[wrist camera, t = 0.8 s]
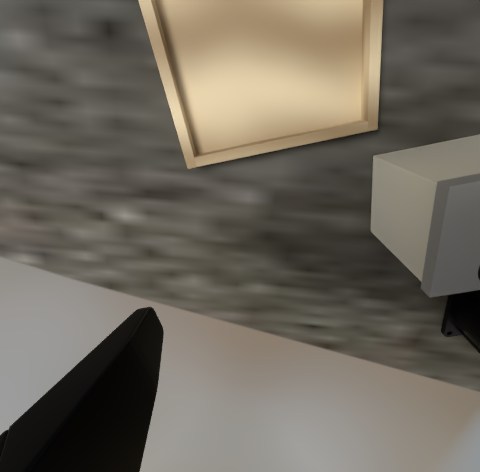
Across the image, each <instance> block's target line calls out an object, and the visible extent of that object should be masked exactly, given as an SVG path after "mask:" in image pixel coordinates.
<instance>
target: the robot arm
mask: <svg viewBox="0 0 480 472" xmlns="http://www.w3.org/2000/svg"><path fill="white" fill-rule="evenodd" d="M478 278H479V280H480V265H479V269H478ZM441 332H442V333H443V334H444V336H446V337H450V336H457V335H463V336H464V337H465V338H466V339H467V340H468V341H469V342H470V343H471V344H472V345H473V347H474V348H475V349H476V350H477V351H478V352H479V353H480V290H476V291H470V292H463V293H457V294H450V295H449V299H448V304H447V308H446V312H445V317H444V321H443V326H442V330H441ZM162 343H163V327H162V325H161V323H160V321H159V319H158V317H157V315H156V312H155V311H154V309H153V308H152V307H147V308H141V309H138V310H136V311H135V312H134V313H133V314H132V315H130V316H129V317H128V318H127V319H126V320H125V321H124V322H123V323H122V324H121V325H120V326H118V328H116V329H115V330H114V331H113V332H112V333H111V334H110V335H109V336H108V337H107V338H106V339H104V340H103V341H102V342H101V343H100V344H99V345H98V346H97V347H96V348H95V349H94V350H92V351H91V352H90V353H89V354H88V355H87V356H86V357H85V358H84V359H83V360H82V361H80V362H79V363H78V364H77V365H76V366H75V367H74V368H73V369H72V370H71V371H70V372H69V373H67V374H66V375H65V376H64V377H63V378H62V379H61V380H60V381H59V382H58V383H57V384H56V385H54V386H53V387H52V388H51V389H50V390H49V391H48V392H47V393H46V394H45V395H44V396H42V397H41V398H40V399H39V400H38V401H37V402H36V403H35V404H34V405H33V406H32V407H31V408H29V409H28V410H27V411H26V412H25V413H24V414H23V415H22V416H21V417H20V418H19V419H18V420H16V421H15V422H14V423H13V424H12V425H11V426H10V428H9V430H6V431H4V432H3V433H2V434H1V435H0V472H139V471H140V467H141V462H142V458H143V453H144V448H145V444H146V439H147V434H148V430H149V425H150V420H151V416H152V411H153V407H154V402H155V398H156V392H157V387H158V380H159V371H160V361H161V352H162Z"/></svg>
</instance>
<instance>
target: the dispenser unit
mask: <svg viewBox="0 0 480 472" xmlns="http://www.w3.org/2000/svg"><path fill="white" fill-rule="evenodd" d="M370 231H371V232H372V233H373V234H374V235H375V236H376V237H377V238H378V239H379V240H380V241H381V242H382V243H383V244H384V245H385V246H386V247H387V248H388V249H389V250H390V251H391V252H392V253H393V254H394V255H395V256H396V257H397V258H398V259H399V260H400V261H401V262H402V263H403V264H404V265H405V266H406V267H407V268H408V269H409V270H410V271H411V272H412V273H413V274H414V275H415V276H416V277H417V278H418V279H419V280H420V281H421V289H422V290H423V291H424V292H425V293H426V294H427V296H428V297H429V298H431V297H438V296H444V295H450V294H457V293H463V292H470V291H476V290H480V280H479V278H478V269H479V265H480V134H479V135H474V136H469V137H464V138H459V139H454V140H449V141H445V142H440V143H435V144H430V145H425V146H420V147H415V148H410V149H405V150H400V151H395V152H390V153H385V154H380V155H375V156H373V177H372V204H371V230H370Z"/></svg>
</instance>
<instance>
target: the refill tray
mask: <svg viewBox="0 0 480 472" xmlns="http://www.w3.org/2000/svg"><path fill="white" fill-rule="evenodd" d="M139 4H140V7H141V10H142V14H143V17H144V21H145V24H146V28H147V31H148V34H149V38H150V41H151V45H152V48H153V51H154V55H155V58H156V62H157V65H158V69H159V72H160V75H161V79H162V82H163V86H164V89H165V92H166V96H167V99H168V103H169V106H170V110H171V113H172V116H173V120H174V123H175V127H176V130H177V133H178V137H179V140H180V144H181V147H182V151H183V154H184V157H185V161H186V164H187V168H188V169H189V168H194V167H199V166H204V165H209V164H213V163H218V162H223V161H228V160H233V159H237V158H242V157H247V156H252V155H257V154H261V153H266V152H271V151H276V150H281V149H286V148H290V147H295V146H300V145H305V144H310V143H314V142H319V141H324V140H329V139H334V138H338V137H343V136H348V135H353V134H358V133H362V132H367V131H372V130H377V129H378V109H379V85H380V62H381V39H382V16H383V0H139Z"/></svg>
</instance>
